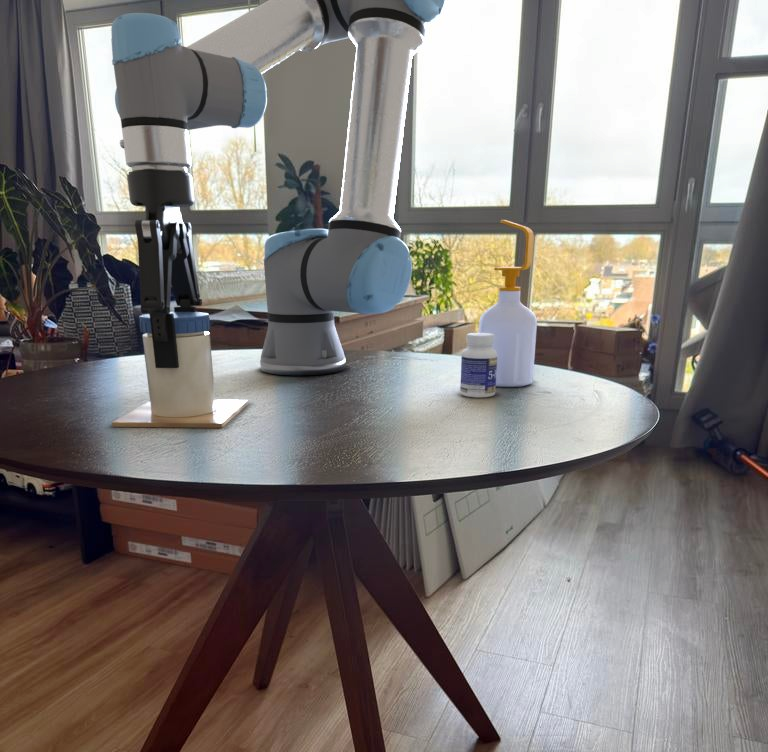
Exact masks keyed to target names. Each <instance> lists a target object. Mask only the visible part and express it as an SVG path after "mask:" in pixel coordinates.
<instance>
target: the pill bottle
mask: <svg viewBox="0 0 768 752" xmlns="http://www.w3.org/2000/svg"><path fill="white" fill-rule="evenodd" d="M465 339H466V340H465V342H466V343H465V344H467V347H466V348H464V349H463V350H462V352H461V357H460V358H461V361H460V362H461V364H460V384H459V385H460V386H459V387H460V389H459V391H460V392H459V393H460V395H461V396H464V397H466V398H467V397H469V398H490V397H493V396H495V395H496V388H497V387H496V370H497V352H496V350H494V349H492V345H493V344H494V343H493V342H494V334H491V333H479V332H470V333H469V332H468V333H466V338H465Z"/></svg>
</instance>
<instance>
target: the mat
mask: <svg viewBox="0 0 768 752" xmlns="http://www.w3.org/2000/svg"><path fill="white" fill-rule="evenodd" d="M248 405H249V400H248V399H216V410H215V411H213V412H211V413H208V414H204V415H199V416H192V417H161V416H156V415H153V414H152V413H151V405H150V400H148V401H147V402H146V401H145V403H143V404H141V405H140V406H138V407H136V408H133V410H130V411H129V412H127V413H125V414H123V415H121V416H120V417H119V418H117V419H115V420H113V421H111V427H113V428H183V429H184V428H185V429H186V428H187V429H188V428H193V429H194V428H195V429H197V428H198V429H199V428H200V429H202V428H203V429H222V428H224V427H225V426H226V425H227V424H228V423H230V421H231V420H232V419H234V418H235V417H236V416H237V415H238V414H240V413H241V411H242V410H244V409H245V408H246V406H248Z"/></svg>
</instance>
